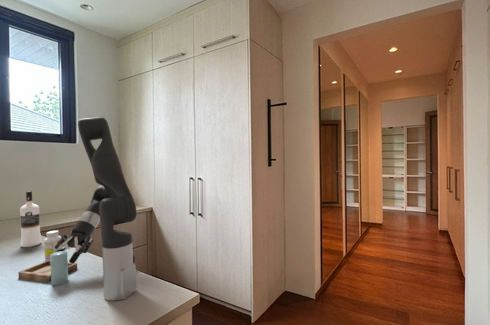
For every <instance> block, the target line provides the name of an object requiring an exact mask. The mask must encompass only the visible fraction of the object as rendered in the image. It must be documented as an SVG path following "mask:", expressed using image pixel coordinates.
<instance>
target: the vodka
mask: <svg viewBox="0 0 490 325" xmlns="http://www.w3.org/2000/svg"><path fill="white" fill-rule="evenodd" d="M25 199H26V200H25V201H26V203H25V204H23V205H22V206H20V208H19V213H20V214H19V216H20V232H21V234H20V238H21V239H20V243H19V245H20V247H21V248H32V247H35V246H38V245H41V244H42V241H43V239H42V235H41V225H40V222H41V221H40V207H39V206H40V205H38V204H36V203H33V192H32V191H31V190H30V191H26V193H25Z"/></svg>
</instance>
